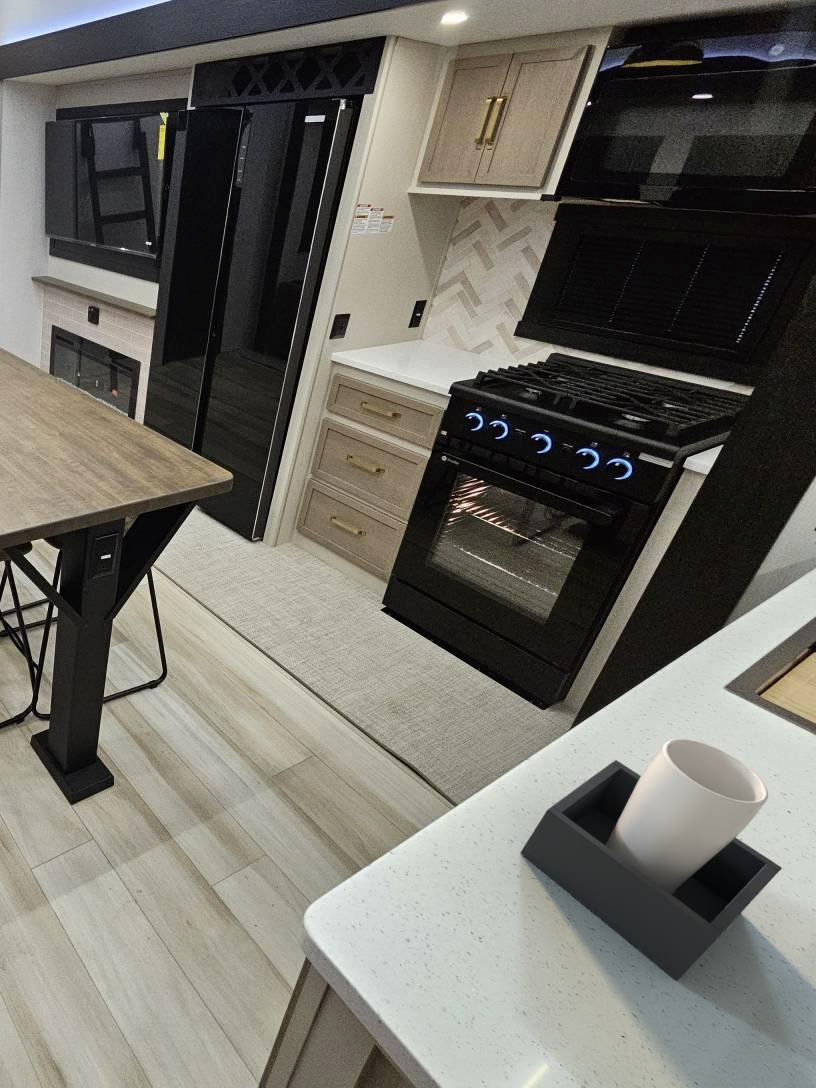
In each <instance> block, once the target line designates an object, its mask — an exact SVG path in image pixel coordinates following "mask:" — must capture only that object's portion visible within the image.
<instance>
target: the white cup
mask: <svg viewBox="0 0 816 1088" xmlns="http://www.w3.org/2000/svg"><path fill="white" fill-rule="evenodd" d="M640 776H641V777H640V778H639V780H638V782H637V784H636V786H635V788H634V790H633V792H632V794H631V796H630V798H629V800H628V802H627V804H626V806H625V808H624V810H623V812H622V814H621V816H620V818H619V820H618V822H617V824H616V825H615V827H614V829H613V831H612V833H611V835H610V837H609V839H608V841H607V842H606V843H605V846H606V847H608V848H609V849H610V850H612V851H613V852H614V853H616V854H617V855H619V856H620V857H621V858H623V859H624V860H625V861H627V862H628V863H629V864H631V865H632V866H633V867H635V868H636V869H637V870H639V871H640V872H641V873H643V874H644V875H646V876H647V877H648V878H650V879H651V880H652V881H654V882H655V883H656V884H658V885H659V886H660V887H662V888H663V889H664V890H666V891H667V892H668V893H670V894H671V895H672V894H673V893H674V892H675V891H676V890H677V889H678V888H679V887H680V886H681V885H682V884H683V883H684V882H685V881H686V880H687V879H689V878H690V877H691V876H692V875H693V874H694V873H695V872H697V871H698V870H699V869H700V868H701V867H702V866H703V865H705V864H706V863H707V862H708V861H709V860H710V859H712V858H713V857H714V856H715V855H716V854H717V853H719V852H720V851H721V850H722V849H723V848H724V847H726V846H727V845H728V844H729V843H730V842H731V841H732V840H734V839H735V838H737V837H738V836H739V835H740V834H741V833H742V832H743V831H744V830H745V829H746V828H747V827H748V826H749V825H750V823H751V822H753V820H754V819H755V817H756V816H757V815H758V813H759V812H760V811H761V809H762V808H763V806H764V805H765V803H766V802H767V801H768V799H769V790H768V788H767V786H766V784H765V782H764V781H763V780H762V779H761V778H760V777H759V775H758V774H757V773H756V772H755V771H754V770H753V769H752V768H750V767H749V766H748V765H747V764H745V763H744V762H742V761H741V760H740V759H738V758H737V757H735V756H733V755H731V754H729V753H728V752H726V751H724V750H722V749H720V748H718V747H716V746H713V745H710V744H708V743H705V742H702V741H700V740H699V741H698V740H694V739H689V738H672V739H670V740H667V741H665V743H664V744H663V745H662V746H661V747H660V748H659V750H658V751H657V752H656V753H655V754H654V756H653V757H652V758H651V760H650V761H649V763H648V764H647V765H646V767H645V768H644V770H643V772H642V773H641V775H640Z"/></svg>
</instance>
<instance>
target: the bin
mask: <svg viewBox="0 0 816 1088" xmlns="http://www.w3.org/2000/svg"><path fill="white" fill-rule="evenodd" d="M640 777H641V775H640V774H639V773H637V772H636V771H634V770H632V769H631V768H630V767H628V766H627V765H625V764H624V763H622V762H620V761H618V760H617V759H615V760H613V761H612V762H610V763H609V764H607V765H606V766H605V767H603V768H601V770H599V771H597V773H595V774H594V775H593V776H591V777H590V778H589V779H587V780H586V781H584V782H583V783H581V784H580V785H579V786H578V787H575V789H573V790H572V791H570V793H568V794H567V795H565V796H564V797H562V798H561V799H560V800H558V801H557V802H556V803H554V804H553V805H552V806H550V807H549V808H548V809H546V810H545V813H544V814H543V816H542V817H541V819H540V821H539V822H538V823H537V825H536V826H535V828H534V830H533V831H532V833H531V835H530V836H529V838H528V840H527V841H526V842H525V844H524V845H523V848H522V849H521V851H520V855H522V856H523V857H524V858H525V859H526V860H528V861H529V862H530V863H531V864H532V865H534V866H535V867H536V868H538V870H540V871H541V872H542V873H543V874H545V875H546V876H547V877H549V879H551V880H552V881H553V882H554V883H556V884H557V885H558V886H560V887H561V888H562V889H563V890H564V891H565V892H566V893H568V894H569V895H570V896H571V897H573V898H574V899H576V900H577V902H579V903H581V905H583V906H584V907H585V908H586V909H587V910H588V911H590V912H591V913H592V914H594V915H595V916H596V917H597V918H598V919H600V920H601V921H602V922H603V923H604V924H606V925H607V926H608V927H609V928H611V929H612V930H613V931H614V932H615V933H617V934H618V935H619V936H621V937H622V938H623V939H624V940H626V941H627V942H628V943H629V944H630V945H631V946H633V947H634V948H635V949H636V950H637V951H639V952H640V953H641V954H642V955H644V957H646V958H647V959H649V960H650V961H651V962H652V963H653V964H655V965H656V966H657V967H658V968H660V969H661V970H662V971H663V972H664V973H666V974H667V975H668V976H669V977H670V978H672V979H673V980H674V981H675V982H678V981H679V980H680V979H681V978H682V977H683V975H685V974H686V973H687V971H688V970H690V968H691V967H692V966H693V965H694V964H695V963H696V962H697V961H698V960H699V959H700V957H701V956H703V954H704V953H705V952H706V951H707V950H708V949H709V948H710V947H711V946H712V945H713V944H714V943H715V941H717V940H718V939H719V938H720V936H721V935H722V934H723V933H725V931H726V930H727V929H728V928H729V927H730V926H731V925H732V923H733V922H734V921H735V920H736V919H737V918H738V917H739V915H741V913H743V912H744V910H745V909H746V908H747V907H748V906H749V905H750V904H751V903H752V902H753V900H755V898H756V897H757V896H758V895H759V894H760V893H761V892H762V891H763V890H764V889H765V887H766V886H767V885H768V884H769V883H770V882H771V881H772V880H773V879H774V877H776V875H778V873H779V872H780V871H781V870H782V866H780V865H779V864H778V863H775V862H774V861H773V860H772V859H770V858H768V857H766V855H763V854H762V853H760V852H759V851H757V850H756V849H754V848H753V847H751V846H750V845H748V844H746V843H745V842H744V841H742V840H741V839H739V838H737V837H736V838H735V839H734V840H732V841H731V842H730V843H729V844H728V845H727V846H726V847H724V848H723V849H722V850H721V851H720V852H719V853H717V854H716V855H715V856H714V857H713V858H712V859H710V860H709V861H708V862H707V863H706V864H705V865H703V866H702V867H701V868H700V869H699V870H698V871H697V872H695V873H694V874H693V875H692V876H691V877H690V878H689V879H687V880H686V881H685V882H684V883H683V884H682V885H681V886H680V887H679V888H678V889H677V890H676V891H675V892H674V893H673V894H672V895H671V894H670V893H668V892H667V891H666V890H664V889H663V888H662V887H660V886H659V885H658V884H656V883H655V882H654V881H652V880H651V879H650V878H648V877H647V876H646V875H644V874H643V873H641V872H640V871H639V870H637V869H636V868H635V867H633V866H632V865H631V864H629V863H628V862H627V861H625V860H624V859H623V858H621V857H620V856H619V855H617V854H616V853H614V852H613V851H612V850H610V849H609V848H608V847H606V846H605V843H606V842H607V841H608V839H609V837H610V835H611V833H612V831H613V829H614V827H615V825H616V824H617V822H618V820H619V818H620V816H621V814H622V812H623V810H624V808H625V806H626V804H627V802H628V800H629V798H630V796H631V794H632V792H633V790H634V788H635V786H636V784H637V782H638V780H639V778H640Z"/></svg>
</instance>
